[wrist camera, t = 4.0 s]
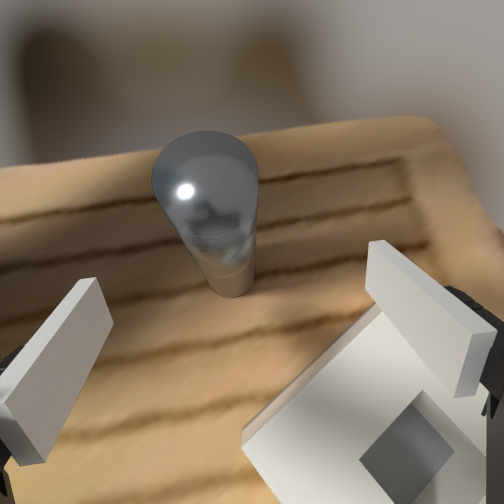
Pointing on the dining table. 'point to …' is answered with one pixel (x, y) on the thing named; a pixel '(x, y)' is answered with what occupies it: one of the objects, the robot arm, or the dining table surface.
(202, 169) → the pin
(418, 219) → the dining table surface
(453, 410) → the hole block
